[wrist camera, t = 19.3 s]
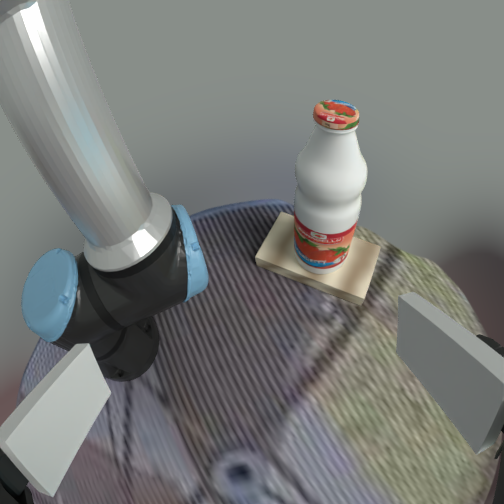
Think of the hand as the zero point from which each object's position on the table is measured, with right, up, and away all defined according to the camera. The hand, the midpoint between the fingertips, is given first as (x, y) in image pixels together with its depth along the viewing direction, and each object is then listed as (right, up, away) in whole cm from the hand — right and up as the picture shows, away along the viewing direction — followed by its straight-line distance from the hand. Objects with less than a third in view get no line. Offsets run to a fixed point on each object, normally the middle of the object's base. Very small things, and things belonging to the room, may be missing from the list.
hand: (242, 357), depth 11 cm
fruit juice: (+12, +4, +40) cm, 42 cm away
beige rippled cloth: (+13, +3, +42) cm, 44 cm away
